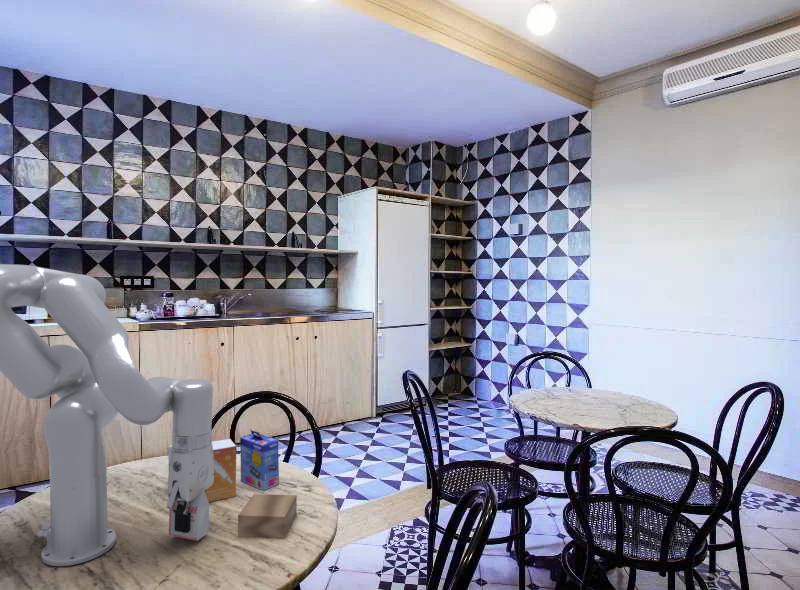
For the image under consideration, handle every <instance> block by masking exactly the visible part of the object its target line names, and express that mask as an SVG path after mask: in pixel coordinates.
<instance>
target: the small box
mask: <svg viewBox="0 0 800 590" xmlns="http://www.w3.org/2000/svg"><path fill="white" fill-rule="evenodd" d="M212 446H213V454H214V482H213V484H212V485H211V486H210V487H209V488H208V489H207V490H206V493H205V494H206V497H207V500H208V502H209V503H210V502H215V501H219V500H220V501H221V500H224V499H229V498H236V495H237V445H236V444H235V443H234V442H233V441H232V439H231V438H227V439H220V440H214V441H213V440H212Z"/></svg>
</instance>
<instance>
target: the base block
mask: <svg viewBox="0 0 800 590" xmlns="http://www.w3.org/2000/svg"><path fill="white" fill-rule="evenodd" d="M297 497H298V496H297V494H295V495H294V494H268V493H267V494H265V493H264V494H263V493H253V495H252V496H251V497H250V499H249V500H248V501H247V503H246V504H245V505H244V507H243V508H242V510H240V512H238V513H239V514H238V515H237V537H238V538H255V539H256V538H258V539H283V540H284V539H286V537H287V535H288V533H289V531H290V529H291V527H292V525H293V523H294V521H295V520H296V517H297V511H298V508H297V506H298V505H297V500H298V498H297Z"/></svg>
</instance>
